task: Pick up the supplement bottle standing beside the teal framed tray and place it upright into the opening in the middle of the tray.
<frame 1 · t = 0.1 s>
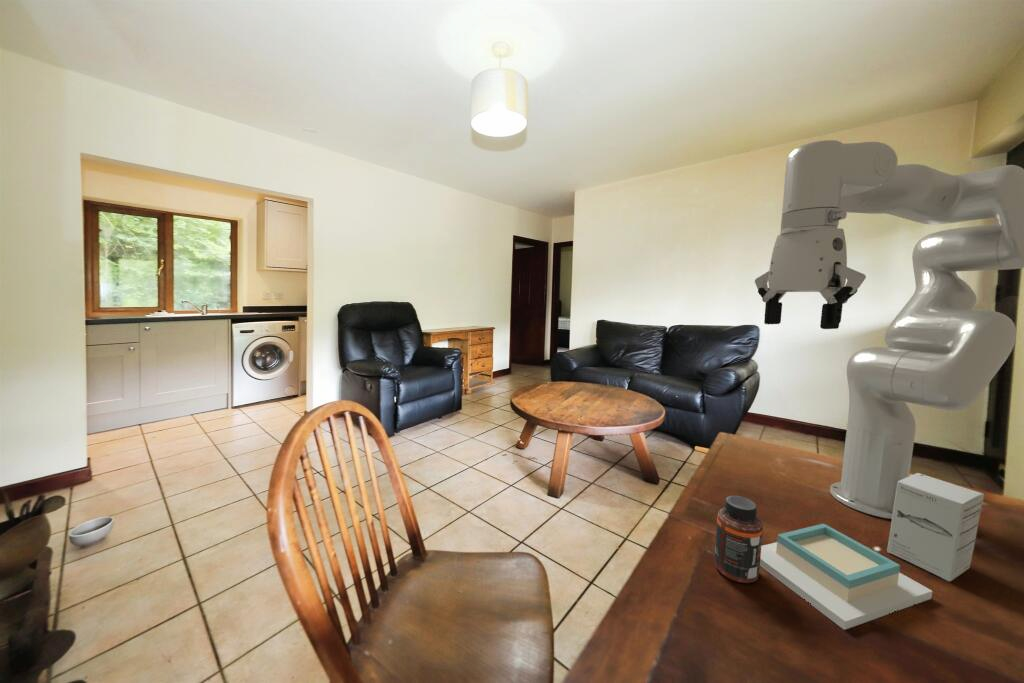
hand: (798, 326, 64), 37 cm above the table, tool pointing down, fingers open, 9 cm apart
supplement box: (927, 561, 59), on the table
teal framed tray: (832, 575, 56), on the table
supplement bottle: (735, 572, 58), on the table
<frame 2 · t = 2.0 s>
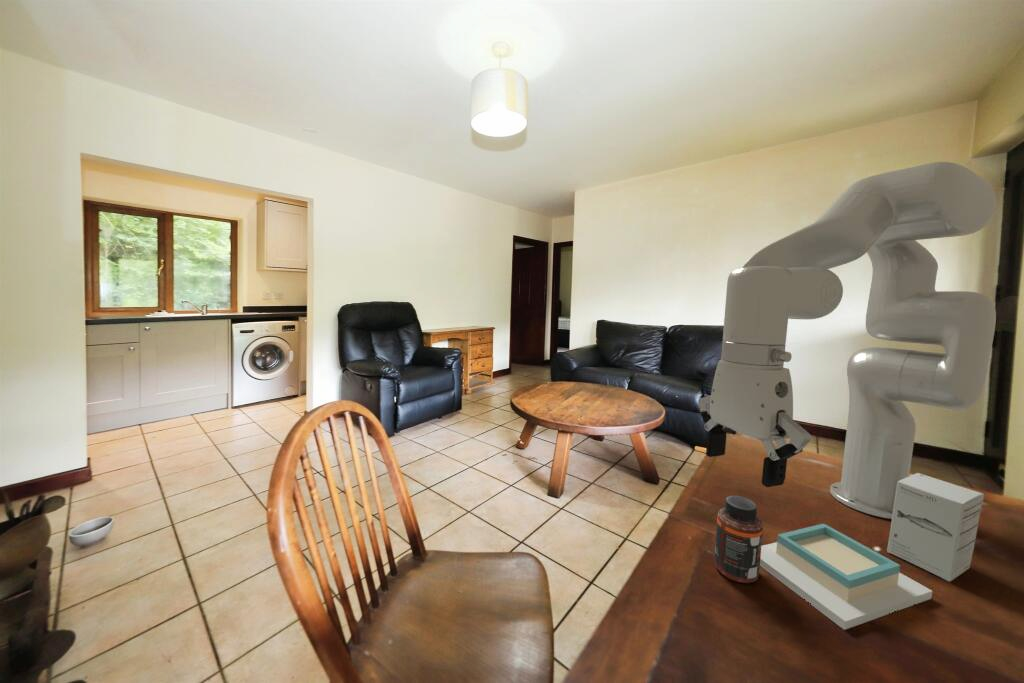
hand: (741, 469, 55), 17 cm above the table, tool pointing down, fingers open, 9 cm apart
nothing on the table moved.
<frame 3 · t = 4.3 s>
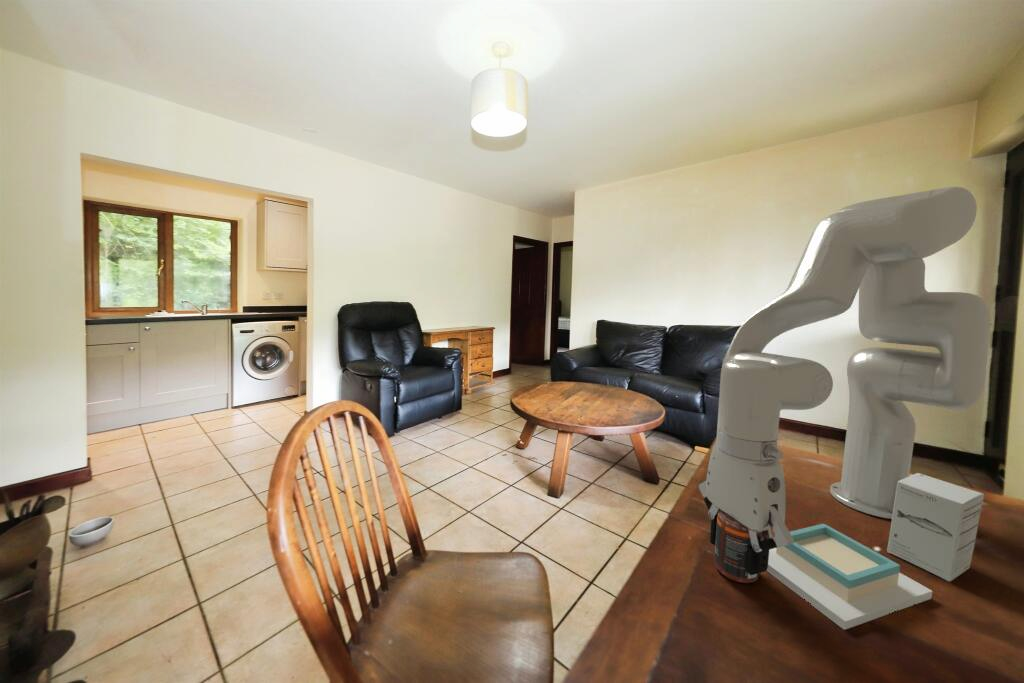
hand: (736, 555, 57), 3 cm above the table, tool pointing down, fingers closed on supplement bottle, 5 cm apart
supplement bottle: (735, 572, 58), on the table, touching gripper
everything else where it was.
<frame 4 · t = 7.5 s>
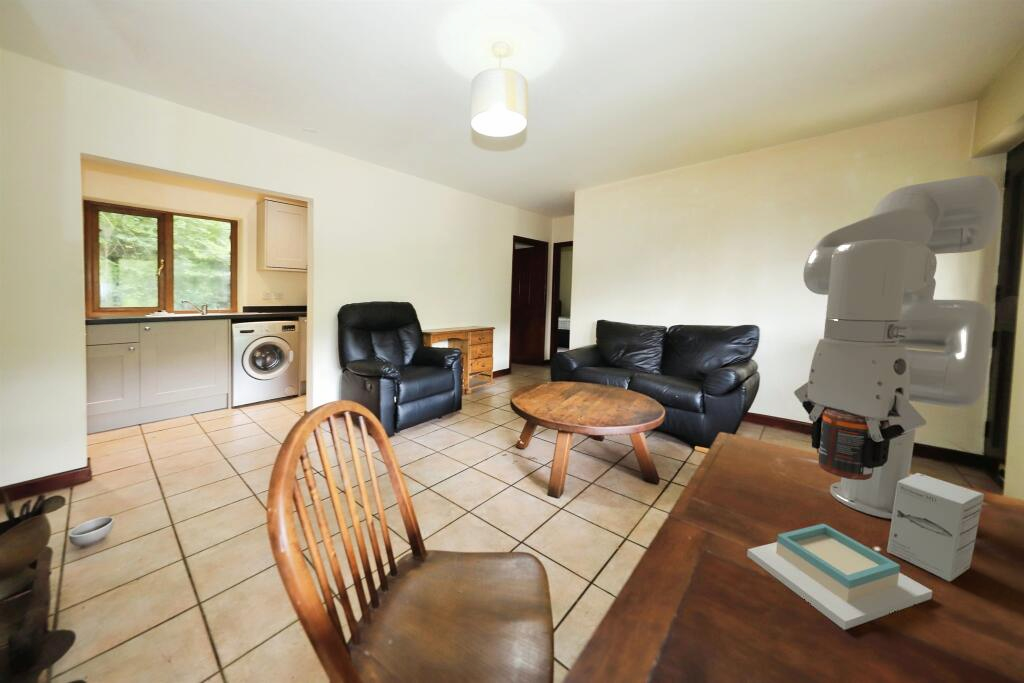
hand: (845, 455, 54), 19 cm above the table, tool pointing down, fingers closed on supplement bottle, 5 cm apart
supplement bottle: (843, 473, 54), point 16 cm above the table, touching gripper
everything else where it was.
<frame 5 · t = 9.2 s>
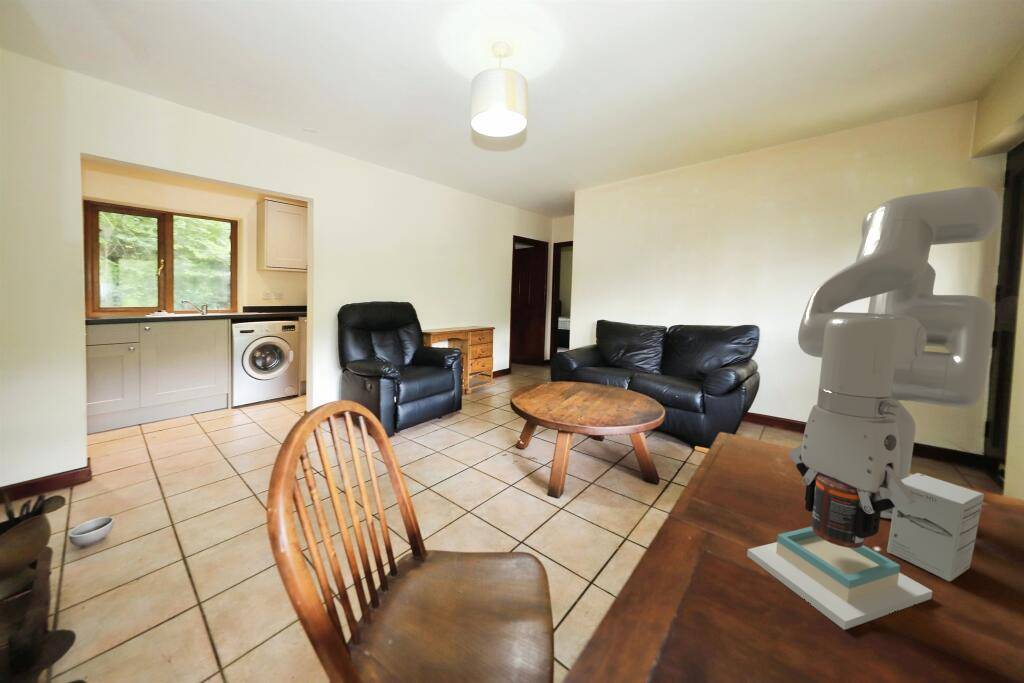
hand: (838, 520, 55), 9 cm above the table, tool pointing down, fingers closed on supplement bottle, 5 cm apart
supplement bottle: (836, 538, 55), point 6 cm above the table, touching gripper
everything else where it was.
when the fingers open (7 cm above the table, at t = 10.8 s): supplement bottle drops 1 cm, resting on teal framed tray.
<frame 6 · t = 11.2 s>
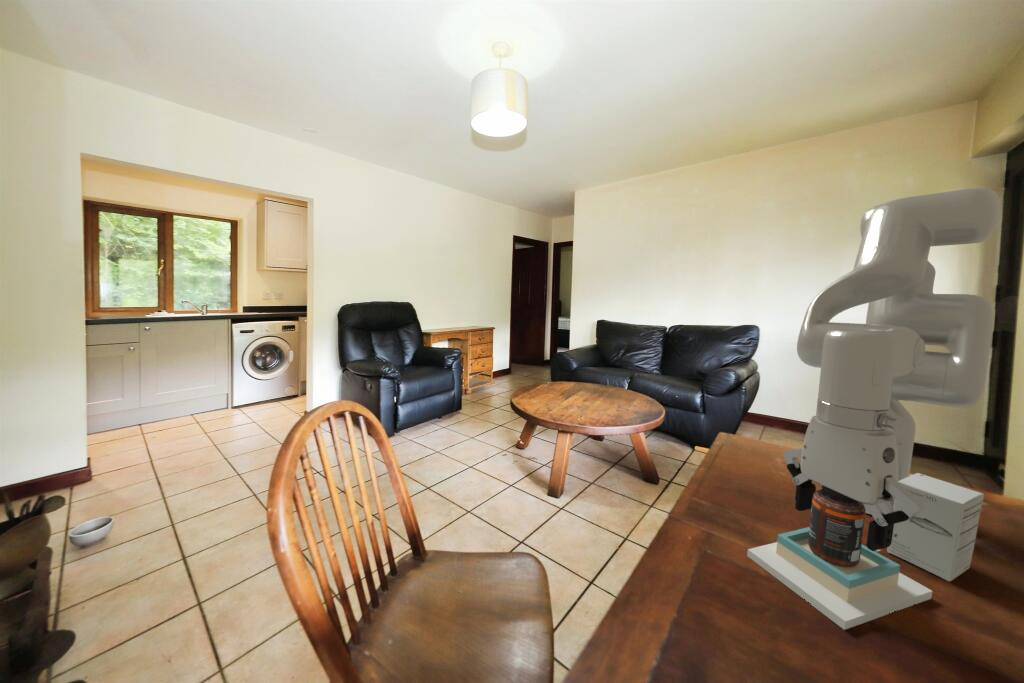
hand: (837, 526, 55), 8 cm above the table, tool pointing down, fingers open, 9 cm apart
supplement bottle: (832, 555, 56), point 3 cm above the table, touching teal framed tray
everything else where it was.
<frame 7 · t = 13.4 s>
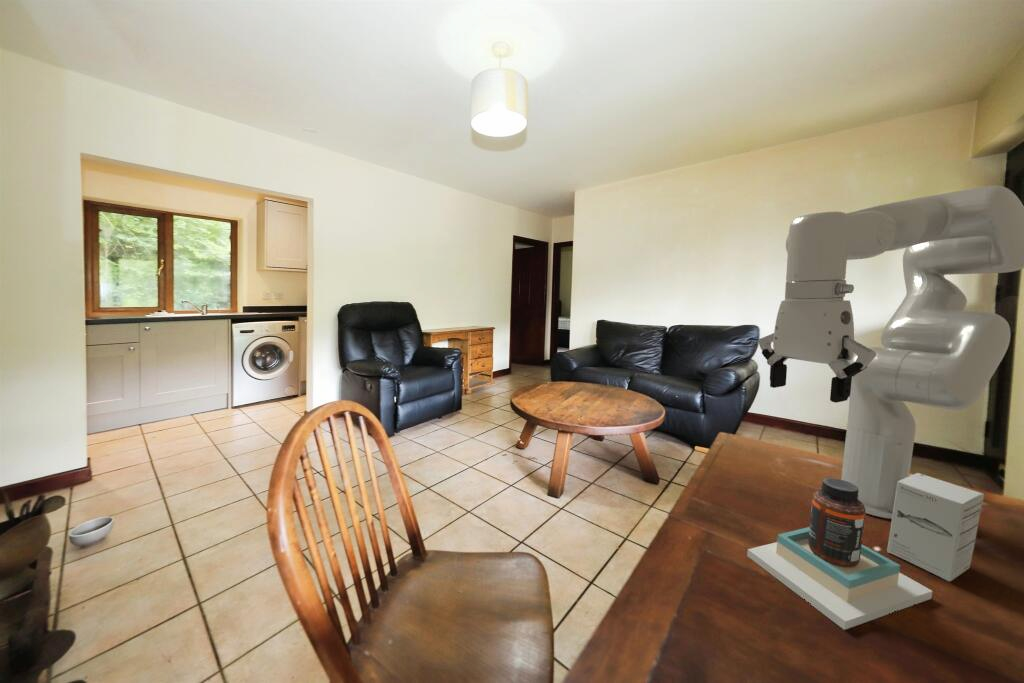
hand: (806, 393, 63), 25 cm above the table, tool pointing down, fingers open, 9 cm apart
nothing on the table moved.
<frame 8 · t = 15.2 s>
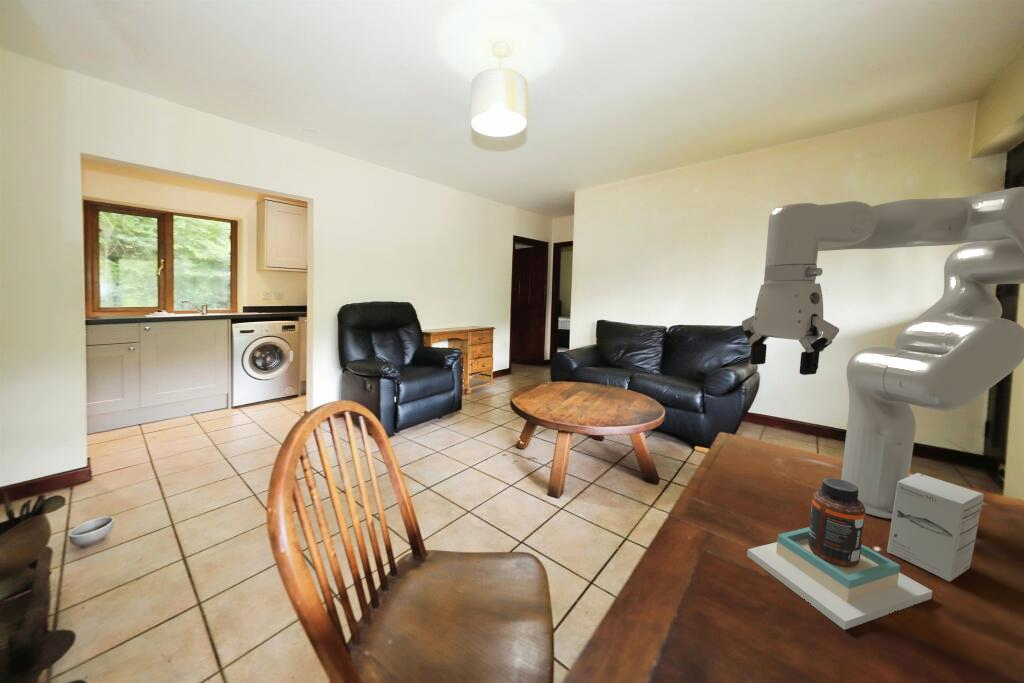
hand: (781, 368, 70), 28 cm above the table, tool pointing down, fingers open, 9 cm apart
nothing on the table moved.
at the end: supplement bottle 0.4 cm off-centre on the teal framed tray, point 3.0 cm above the teal framed tray's base; supplement bottle tilted 0°; the gripper is holding nothing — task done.
